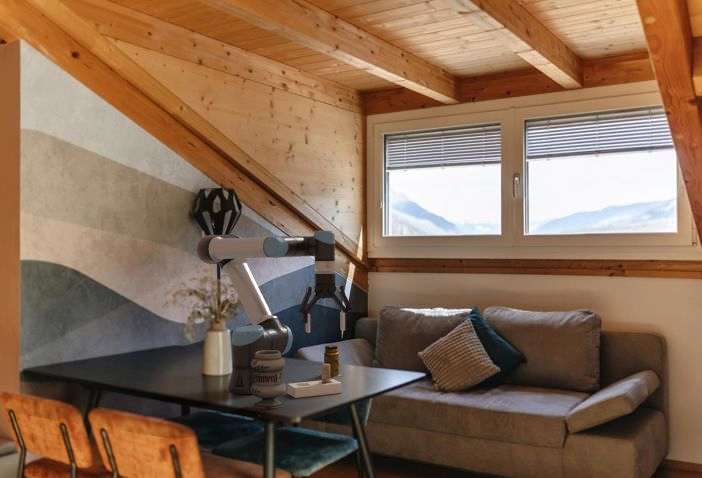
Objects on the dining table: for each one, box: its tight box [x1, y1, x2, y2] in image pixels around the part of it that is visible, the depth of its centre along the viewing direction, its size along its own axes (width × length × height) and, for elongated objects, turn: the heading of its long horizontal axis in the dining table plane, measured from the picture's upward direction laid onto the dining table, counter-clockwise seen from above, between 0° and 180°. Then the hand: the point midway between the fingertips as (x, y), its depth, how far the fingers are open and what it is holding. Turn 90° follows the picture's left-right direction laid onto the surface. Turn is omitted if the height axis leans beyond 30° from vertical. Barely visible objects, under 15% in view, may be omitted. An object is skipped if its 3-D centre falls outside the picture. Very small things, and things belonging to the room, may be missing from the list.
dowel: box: [321, 363, 331, 384], centre depth 260 cm, size 3×3×10 cm
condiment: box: [316, 344, 343, 378], centre depth 292 cm, size 7×8×12 cm
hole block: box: [286, 378, 343, 399], centre depth 258 cm, size 18×8×4 cm, turn 115°
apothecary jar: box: [250, 350, 288, 410], centre depth 239 cm, size 12×12×18 cm
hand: (325, 331), depth 260 cm, fingers open, 13 cm apart
